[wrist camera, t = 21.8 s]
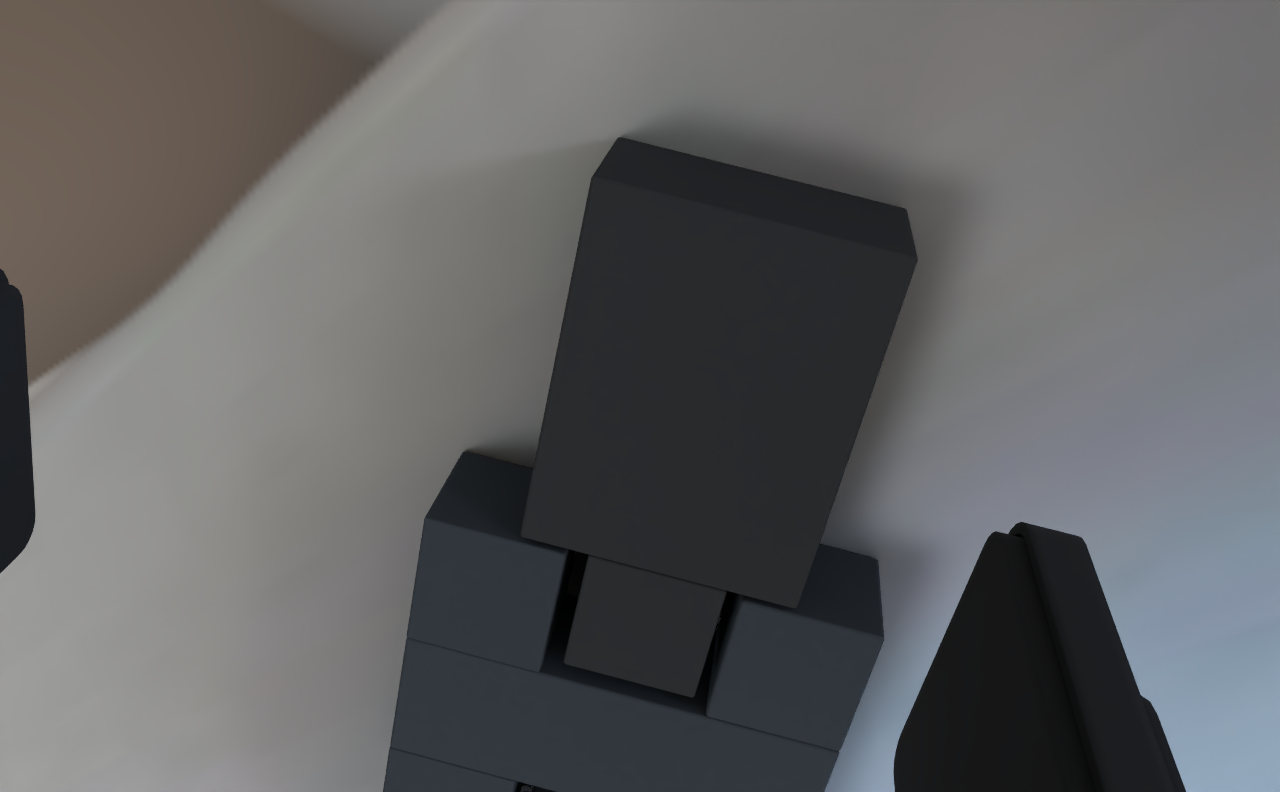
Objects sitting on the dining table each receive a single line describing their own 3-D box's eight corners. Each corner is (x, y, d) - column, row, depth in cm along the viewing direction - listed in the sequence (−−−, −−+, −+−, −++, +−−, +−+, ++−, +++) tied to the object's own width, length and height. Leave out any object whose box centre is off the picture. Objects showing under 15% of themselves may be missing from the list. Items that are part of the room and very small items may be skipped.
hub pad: (463, 449, 27) (423, 517, 24) (879, 558, 27) (885, 639, 24) (412, 758, 32) (374, 844, 29) (767, 853, 31) (762, 949, 29)
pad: (617, 135, 23) (591, 175, 21) (908, 208, 23) (919, 258, 21) (527, 570, 28) (497, 647, 26) (765, 632, 28) (759, 716, 26)
